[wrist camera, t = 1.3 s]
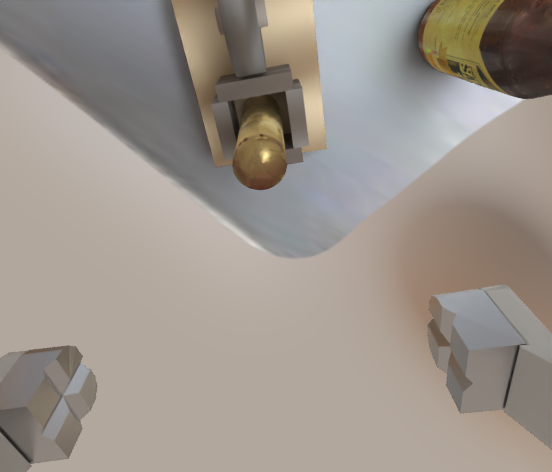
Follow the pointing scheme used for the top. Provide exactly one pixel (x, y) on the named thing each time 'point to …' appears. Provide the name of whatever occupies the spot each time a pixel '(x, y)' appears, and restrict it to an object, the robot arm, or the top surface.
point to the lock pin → (260, 145)
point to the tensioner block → (254, 68)
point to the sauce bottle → (491, 43)
